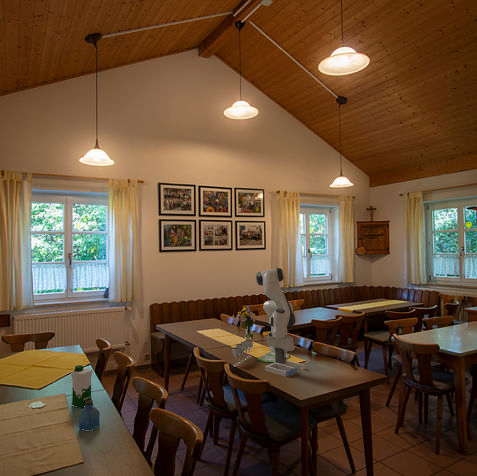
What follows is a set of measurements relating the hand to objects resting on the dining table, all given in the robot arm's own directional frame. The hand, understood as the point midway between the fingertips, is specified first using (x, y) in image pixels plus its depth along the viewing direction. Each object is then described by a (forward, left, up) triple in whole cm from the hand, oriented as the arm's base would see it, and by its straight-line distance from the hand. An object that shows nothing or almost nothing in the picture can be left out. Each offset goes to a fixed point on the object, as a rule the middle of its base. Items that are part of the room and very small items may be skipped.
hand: (280, 355), depth 248 cm
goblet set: (-1, -36, -11) cm, 37 cm away
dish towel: (-19, -22, -12) cm, 32 cm away
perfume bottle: (+121, -15, -11) cm, 123 cm away
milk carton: (+113, -43, -11) cm, 122 cm away
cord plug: (0, 0, -5) cm, 5 cm away
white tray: (-5, 0, -11) cm, 12 cm away
